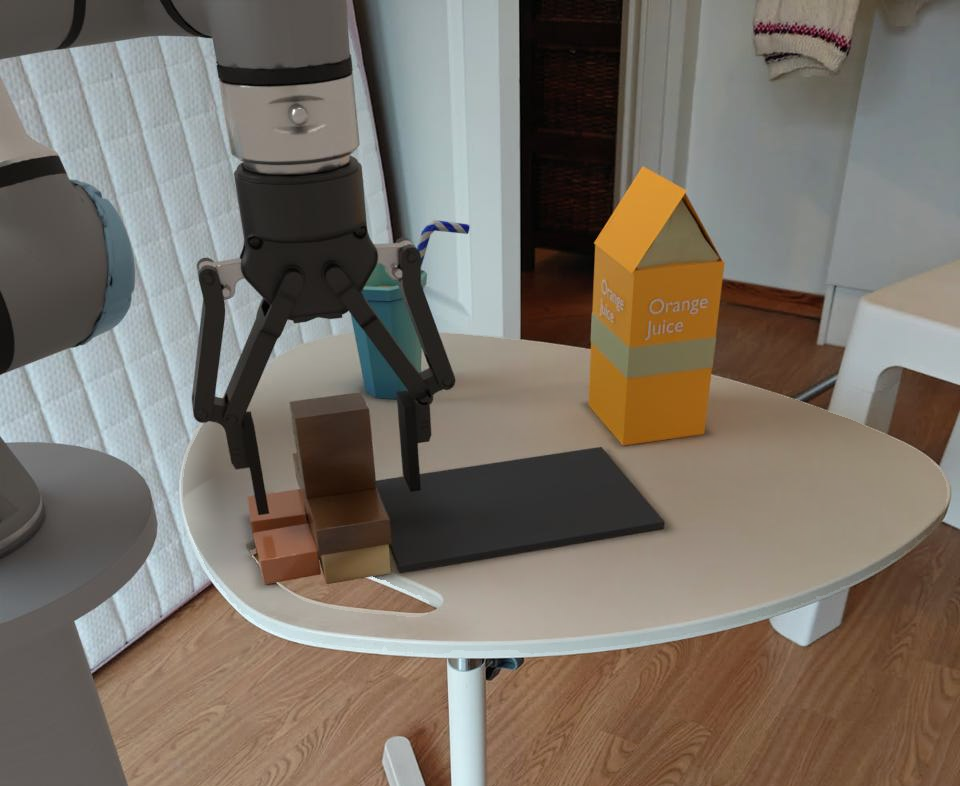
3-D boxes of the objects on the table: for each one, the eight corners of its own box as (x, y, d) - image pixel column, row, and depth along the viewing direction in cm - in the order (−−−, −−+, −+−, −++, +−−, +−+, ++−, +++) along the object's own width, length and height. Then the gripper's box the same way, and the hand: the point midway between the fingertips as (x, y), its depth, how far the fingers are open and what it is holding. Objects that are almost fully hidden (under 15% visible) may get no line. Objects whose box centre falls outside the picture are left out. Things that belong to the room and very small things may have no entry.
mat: (399, 573, 71) (398, 566, 71) (366, 488, 81) (365, 481, 81) (664, 528, 75) (664, 521, 75) (601, 452, 85) (601, 446, 85)
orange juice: (665, 394, 94) (686, 161, 82) (706, 434, 87) (735, 186, 75) (585, 405, 93) (595, 169, 81) (620, 446, 86) (637, 195, 74)
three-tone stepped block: (323, 587, 70) (304, 447, 63) (300, 505, 79) (281, 376, 73) (394, 574, 71) (382, 436, 64) (363, 495, 80) (349, 368, 74)
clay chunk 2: (264, 585, 70) (259, 560, 69) (257, 556, 73) (252, 532, 72) (321, 574, 71) (317, 550, 70) (311, 546, 74) (308, 522, 73)
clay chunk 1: (254, 545, 74) (250, 521, 73) (251, 518, 78) (247, 495, 76) (309, 537, 75) (305, 514, 74) (303, 511, 78) (300, 488, 77)
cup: (466, 364, 101) (461, 206, 92) (481, 395, 95) (477, 229, 86) (326, 378, 99) (307, 218, 90) (332, 411, 93) (312, 242, 84)
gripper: (93, 190, 54) (178, 545, 68) (500, 155, 59) (504, 494, 72) (97, 161, 60) (174, 493, 73) (467, 131, 65) (476, 449, 78)
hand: (337, 493), depth 73 cm, fingers open, 10 cm apart
